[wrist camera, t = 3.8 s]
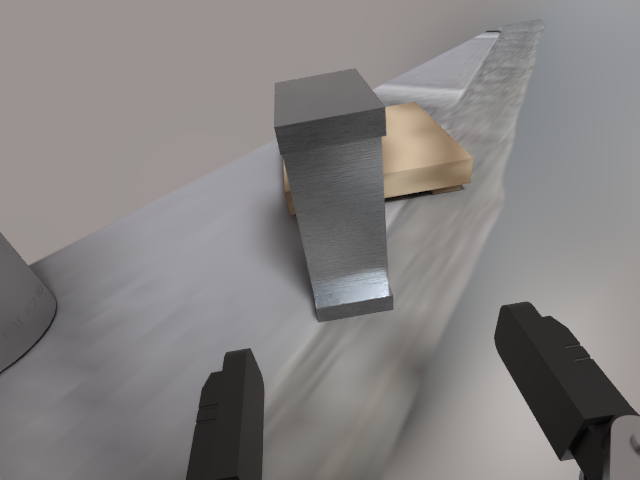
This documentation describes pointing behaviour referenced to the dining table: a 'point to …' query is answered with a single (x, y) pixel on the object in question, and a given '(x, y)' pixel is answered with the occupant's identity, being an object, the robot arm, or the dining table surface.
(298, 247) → the dining table surface
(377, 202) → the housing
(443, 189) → the birch stand
